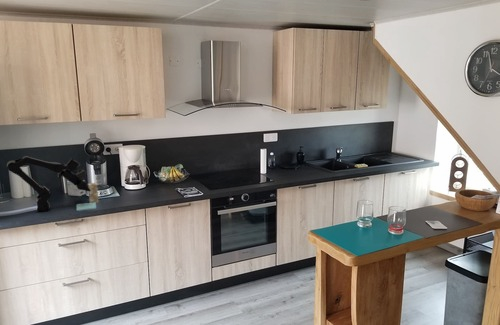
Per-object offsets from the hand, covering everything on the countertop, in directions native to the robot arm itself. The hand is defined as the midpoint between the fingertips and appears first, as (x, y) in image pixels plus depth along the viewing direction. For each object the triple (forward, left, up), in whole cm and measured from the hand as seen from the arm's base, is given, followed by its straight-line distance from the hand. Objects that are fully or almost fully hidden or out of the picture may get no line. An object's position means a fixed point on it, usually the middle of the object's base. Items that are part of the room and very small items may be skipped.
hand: (88, 189), depth 266 cm
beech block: (+3, +1, -10) cm, 10 cm away
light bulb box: (-8, +25, -10) cm, 28 cm away
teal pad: (-2, -9, -10) cm, 14 cm away
